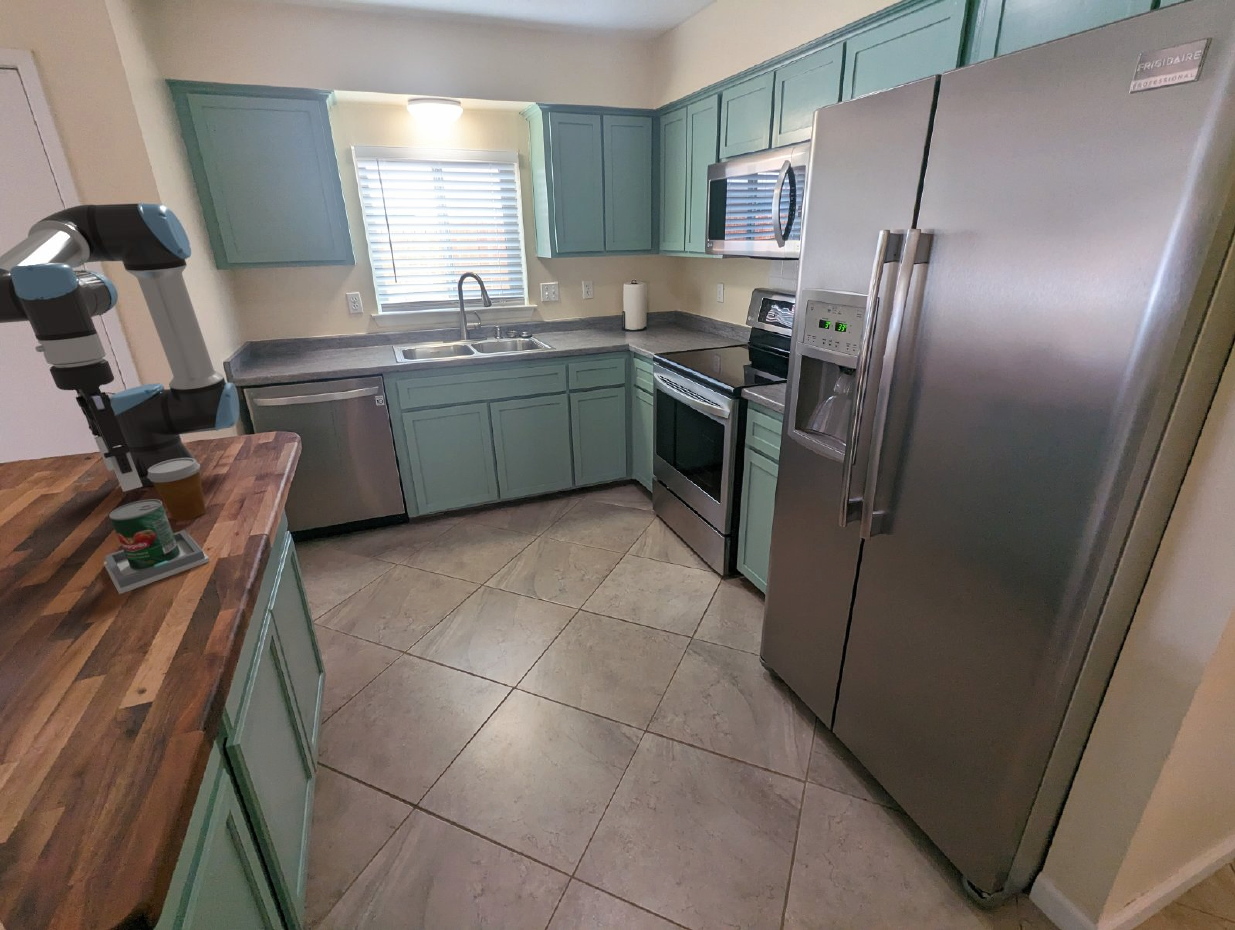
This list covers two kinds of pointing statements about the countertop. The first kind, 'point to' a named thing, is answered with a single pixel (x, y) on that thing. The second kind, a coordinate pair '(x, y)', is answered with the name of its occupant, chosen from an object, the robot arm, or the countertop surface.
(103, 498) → the countertop surface
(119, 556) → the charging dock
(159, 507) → the canned tomato
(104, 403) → the robot arm
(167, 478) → the disposable coffee cup
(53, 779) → the countertop surface
